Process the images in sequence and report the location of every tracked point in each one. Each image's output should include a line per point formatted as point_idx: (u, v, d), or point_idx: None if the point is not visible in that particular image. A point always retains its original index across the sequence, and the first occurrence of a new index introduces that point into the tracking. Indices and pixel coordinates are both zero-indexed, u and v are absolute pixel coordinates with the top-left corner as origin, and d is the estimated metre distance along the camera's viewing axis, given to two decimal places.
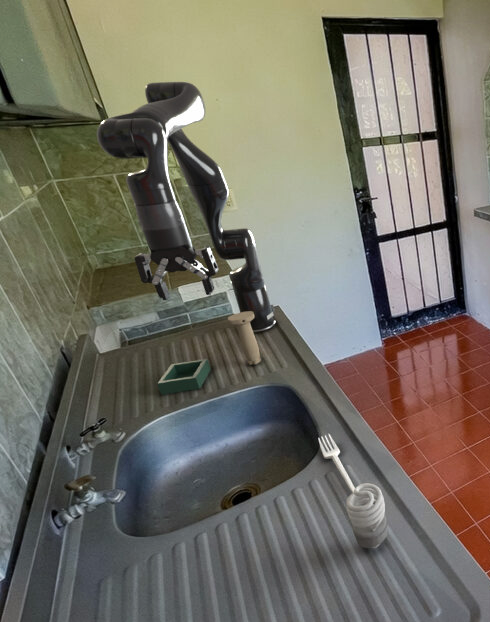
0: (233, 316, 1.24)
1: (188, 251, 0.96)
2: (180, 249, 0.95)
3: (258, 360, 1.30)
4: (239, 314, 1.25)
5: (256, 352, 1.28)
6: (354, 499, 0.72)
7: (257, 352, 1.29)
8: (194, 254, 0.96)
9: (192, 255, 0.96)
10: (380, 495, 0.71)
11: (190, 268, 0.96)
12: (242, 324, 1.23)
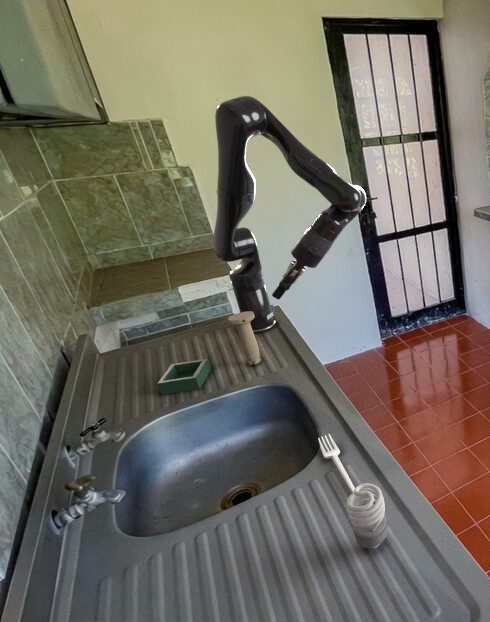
0: (233, 316, 1.24)
1: None
2: None
3: (258, 360, 1.30)
4: (239, 314, 1.25)
5: (256, 352, 1.28)
6: (354, 499, 0.72)
7: (257, 352, 1.29)
8: None
9: None
10: (380, 495, 0.71)
11: None
12: (242, 324, 1.23)
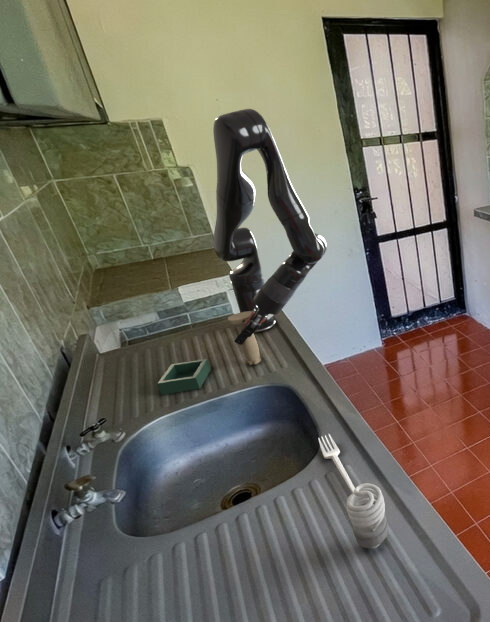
0: (233, 316, 1.24)
1: None
2: None
3: (258, 360, 1.30)
4: (239, 314, 1.25)
5: (256, 352, 1.28)
6: (354, 499, 0.72)
7: (257, 352, 1.29)
8: None
9: None
10: (380, 495, 0.71)
11: None
12: (242, 324, 1.23)
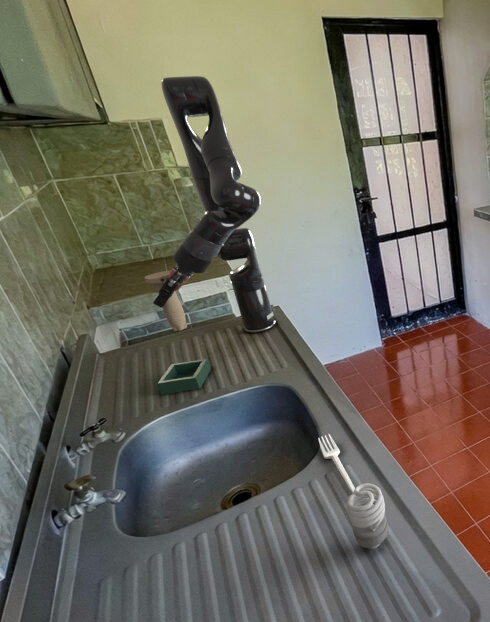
0: (151, 275, 1.11)
1: None
2: None
3: (184, 326, 1.17)
4: (159, 273, 1.12)
5: (180, 316, 1.15)
6: (354, 499, 0.72)
7: (182, 316, 1.16)
8: None
9: None
10: (380, 495, 0.71)
11: None
12: (161, 283, 1.10)
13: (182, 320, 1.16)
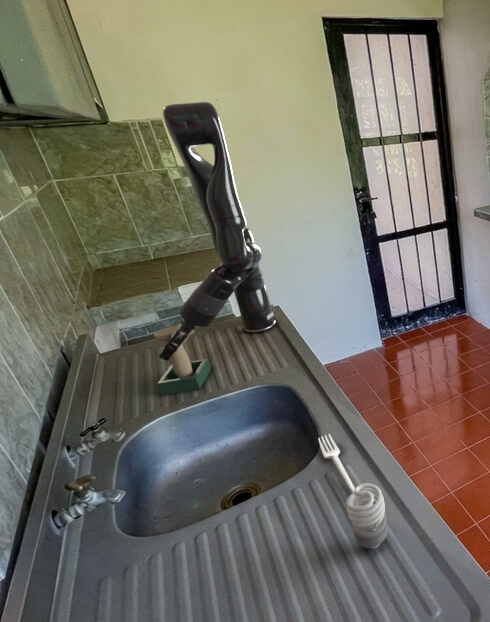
0: (160, 331, 1.16)
1: None
2: None
3: None
4: (167, 329, 1.17)
5: (187, 369, 1.20)
6: (354, 499, 0.72)
7: (189, 369, 1.21)
8: None
9: None
10: (380, 495, 0.71)
11: None
12: None
13: (189, 372, 1.21)
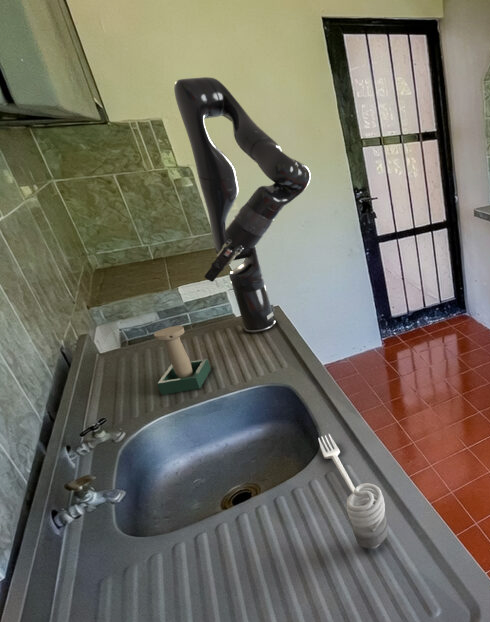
0: (160, 331, 1.16)
1: None
2: None
3: None
4: (167, 329, 1.17)
5: (187, 369, 1.20)
6: (354, 499, 0.72)
7: (189, 369, 1.21)
8: None
9: None
10: (380, 495, 0.71)
11: None
12: (170, 340, 1.15)
13: (189, 372, 1.21)
